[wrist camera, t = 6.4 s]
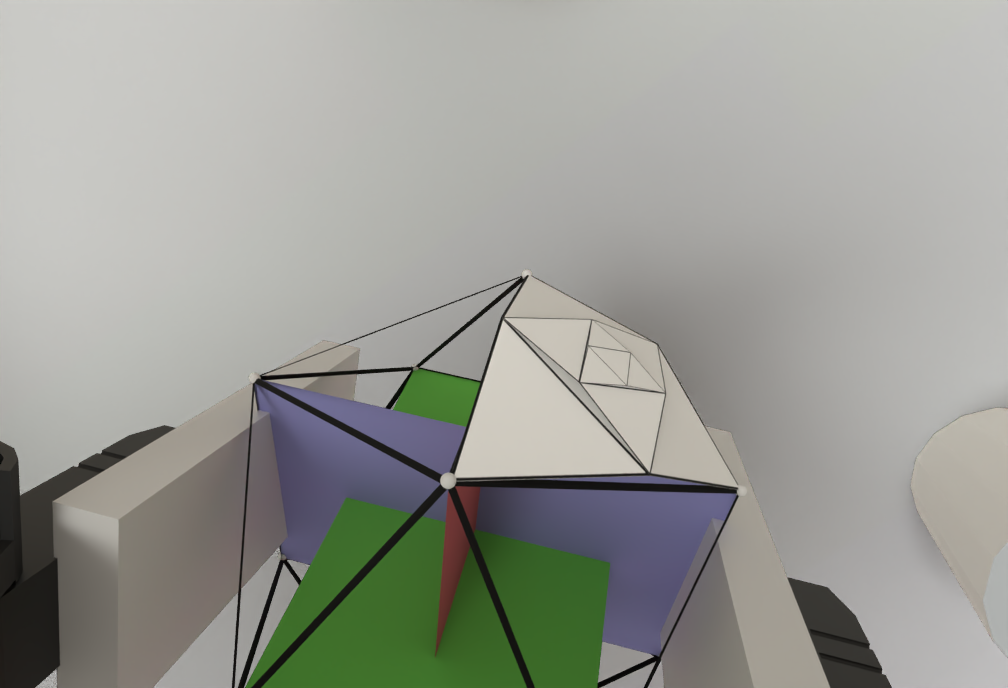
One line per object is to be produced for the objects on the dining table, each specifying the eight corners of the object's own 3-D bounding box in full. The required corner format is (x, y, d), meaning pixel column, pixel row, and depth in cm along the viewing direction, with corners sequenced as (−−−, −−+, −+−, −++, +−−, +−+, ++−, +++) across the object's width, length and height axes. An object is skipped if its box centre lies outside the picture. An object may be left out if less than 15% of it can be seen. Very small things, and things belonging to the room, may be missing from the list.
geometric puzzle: (622, 798, 12) (776, 1084, 5) (271, 697, 13) (-66, 809, 6) (678, 425, 15) (834, 234, 7) (382, 359, 16) (255, 126, 8)
